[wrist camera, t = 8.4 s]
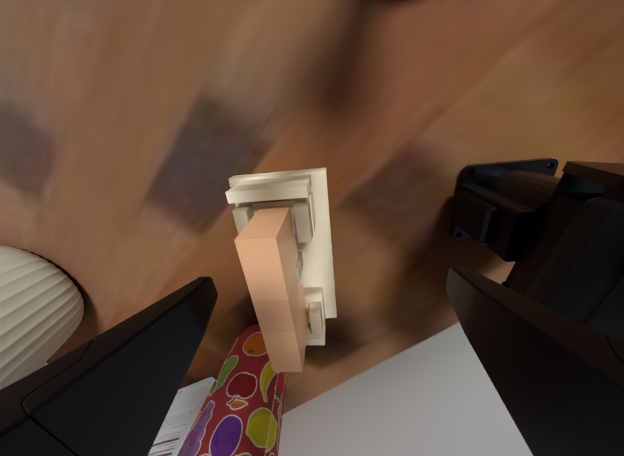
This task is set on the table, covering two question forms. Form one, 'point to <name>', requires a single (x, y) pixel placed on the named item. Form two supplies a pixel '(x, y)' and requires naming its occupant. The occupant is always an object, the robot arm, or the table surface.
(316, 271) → the display stand
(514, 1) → the table surface
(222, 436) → the smoothie
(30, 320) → the canister
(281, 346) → the tapered tan board
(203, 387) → the supplement box
